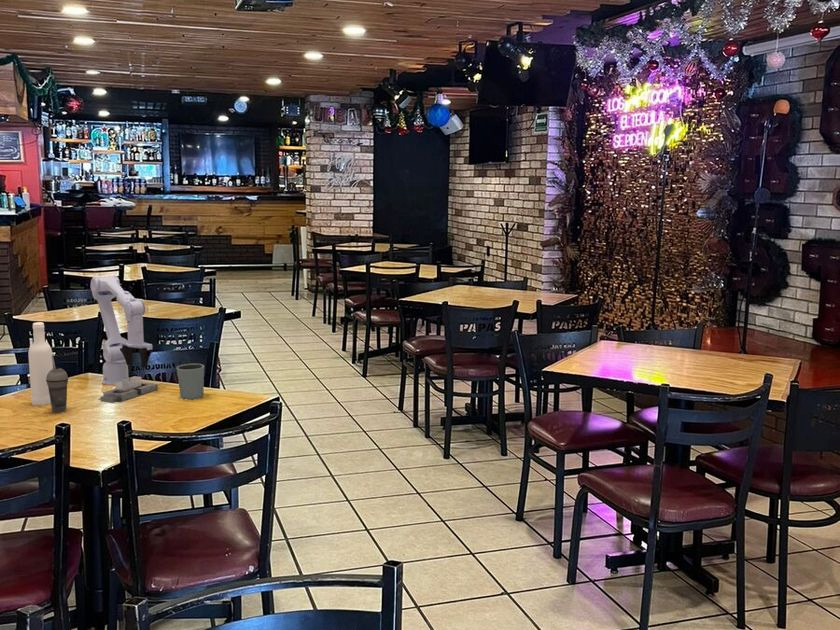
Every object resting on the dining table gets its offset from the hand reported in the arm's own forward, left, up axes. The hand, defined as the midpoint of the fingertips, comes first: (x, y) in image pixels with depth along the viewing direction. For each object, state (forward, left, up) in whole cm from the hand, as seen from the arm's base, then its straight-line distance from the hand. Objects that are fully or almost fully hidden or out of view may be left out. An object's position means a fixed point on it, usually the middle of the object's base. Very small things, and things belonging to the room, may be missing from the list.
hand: (136, 366), depth 312 cm
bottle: (-18, -29, -10) cm, 36 cm away
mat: (+2, -7, -10) cm, 12 cm away
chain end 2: (+3, -1, -9) cm, 10 cm away
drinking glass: (+25, +1, -10) cm, 27 cm away
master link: (+3, -8, -9) cm, 12 cm away
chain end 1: (+3, -14, -9) cm, 17 cm away
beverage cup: (-5, -34, -10) cm, 36 cm away
